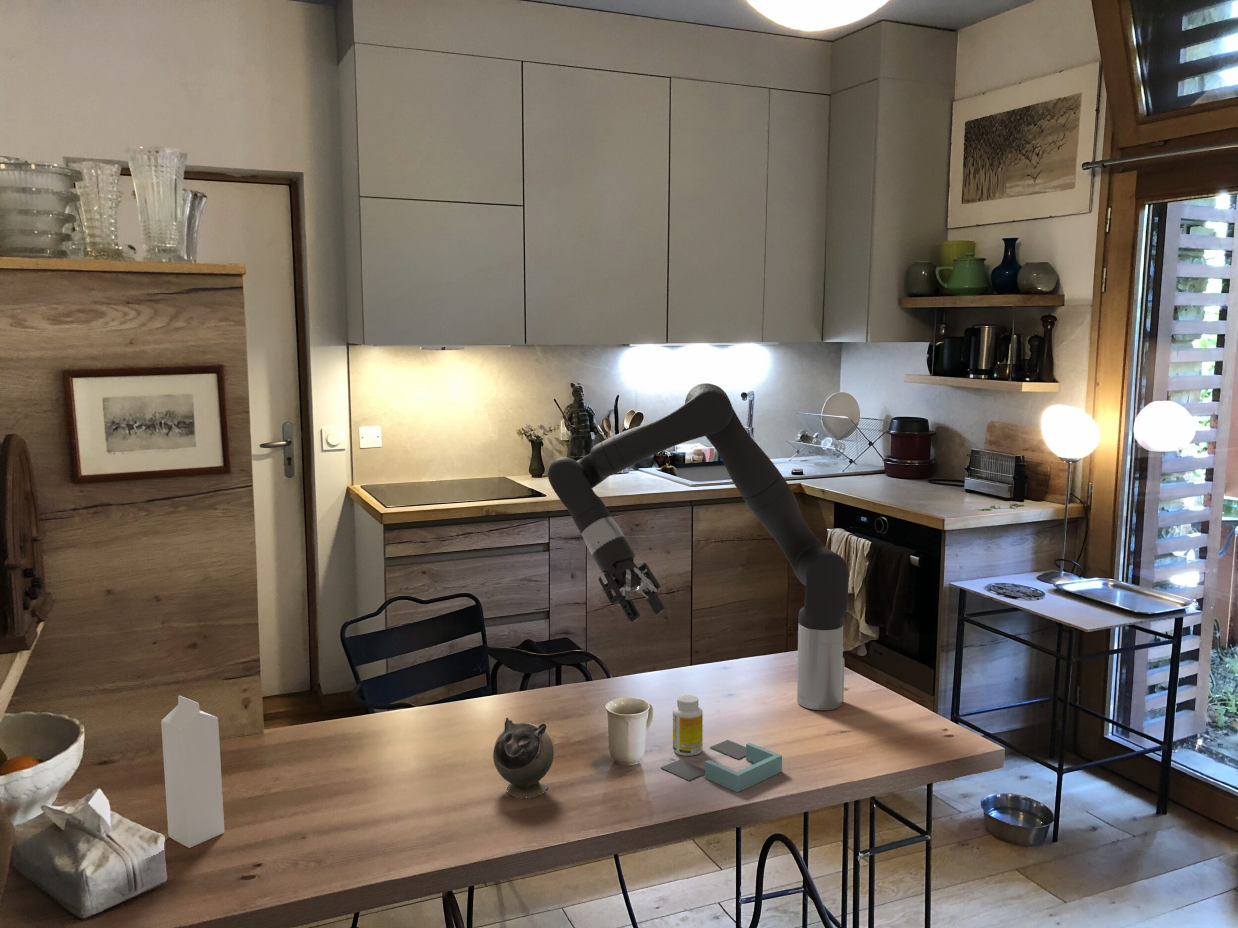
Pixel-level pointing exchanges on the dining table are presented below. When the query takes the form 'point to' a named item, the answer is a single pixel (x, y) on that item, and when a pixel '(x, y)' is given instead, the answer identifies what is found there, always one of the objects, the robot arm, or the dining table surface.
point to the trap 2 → (730, 749)
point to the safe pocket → (746, 769)
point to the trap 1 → (684, 770)
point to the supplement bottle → (687, 726)
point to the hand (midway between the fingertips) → (648, 615)
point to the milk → (192, 774)
